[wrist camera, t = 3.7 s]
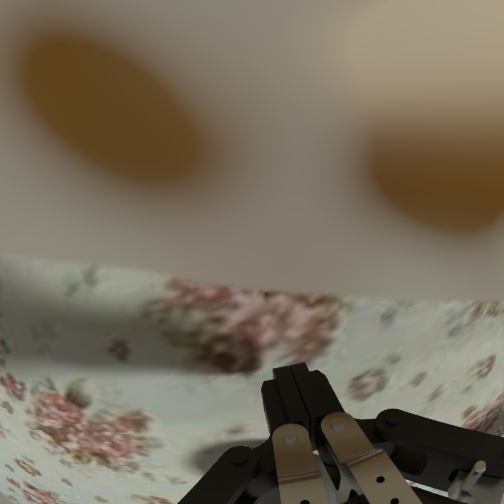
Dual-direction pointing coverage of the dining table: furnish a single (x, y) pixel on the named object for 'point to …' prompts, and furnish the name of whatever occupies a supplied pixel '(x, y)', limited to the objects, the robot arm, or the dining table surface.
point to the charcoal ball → (272, 498)
